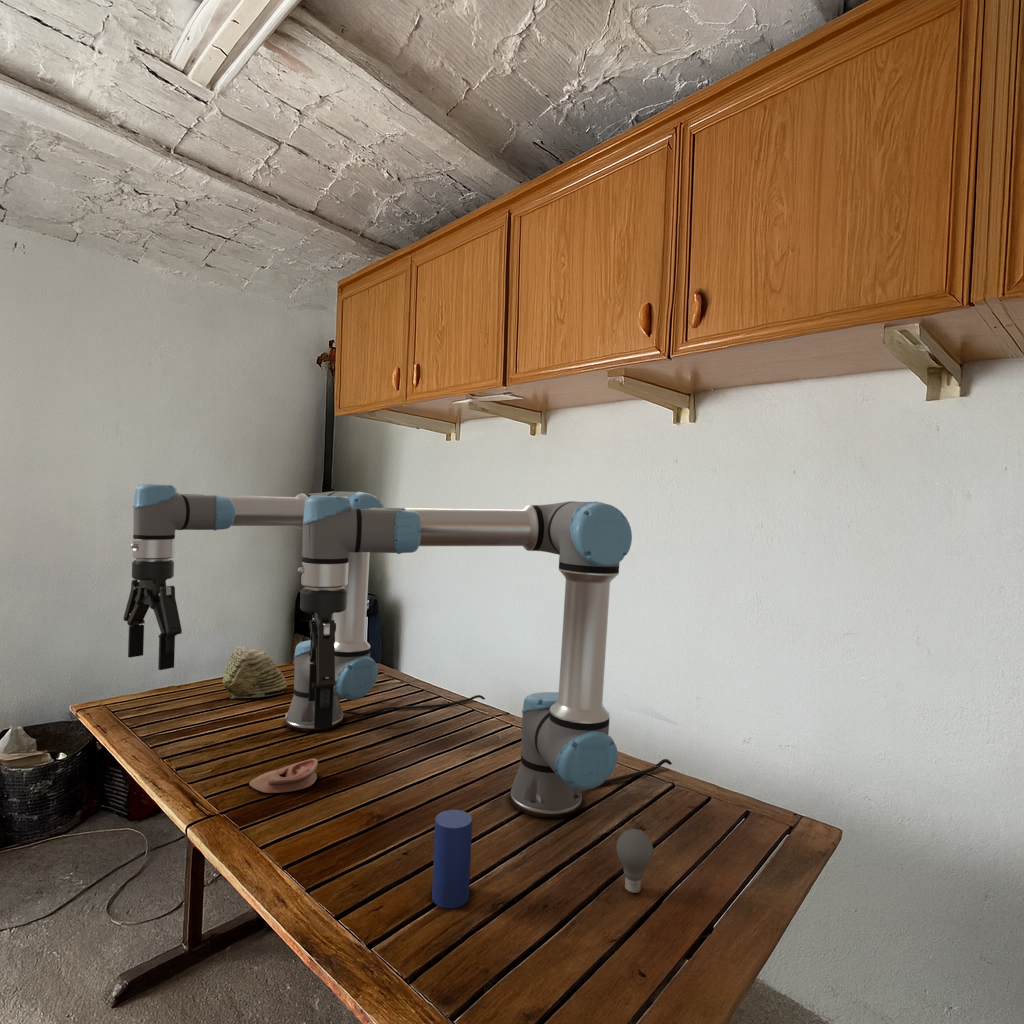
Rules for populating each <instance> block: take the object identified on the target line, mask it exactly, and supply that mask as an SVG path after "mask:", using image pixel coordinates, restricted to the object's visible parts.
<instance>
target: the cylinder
mask: <svg viewBox="0 0 1024 1024" xmlns="http://www.w3.org/2000/svg"><path fill="white" fill-rule="evenodd" d="M472 834H473V817H472V815H471V814H470V813H469V812H467V811H464V810H460V809H448V810H444V811H441V812H439V813H438V814H437V815H436V816H435V820H434V840H433V865H432V892H431V893H432V894H431V899H432V902H433V903H434V904H435V905H436V906H437V907H440V908H442V909H458V908H461V907H462V906H464V905H466V904H467V902H468V901H469V899H470V883H471V881H470V880H471V859H472V856H471V855H472V836H473V835H472Z"/></svg>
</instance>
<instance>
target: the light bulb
mask: <svg viewBox="0 0 1024 1024" xmlns="http://www.w3.org/2000/svg"><path fill="white" fill-rule="evenodd" d="M615 849H616V854H617V857H618V859H619V861H620V863H621V865H622V867H623V873H624V874H623V875H624V876H625V878H624V888H625V890H627V891H628V892H630V893H634V894H635V893H639V892H640V891H641V889H642V887H641V886H642V879H643V877H644V875H645V871H646V868H647V867H648V866H649V864H650V863H651V861H652V859H653V855H654V847H653V843H652V841H651V838H649V836H648V835H647V834H646V833H645V832H643V831H642V830H641V829H636V828H629V829H627V830H625V831H623V832H622V833H621V834H620V835H619V837H618V839H617V841H616V847H615Z"/></svg>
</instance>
